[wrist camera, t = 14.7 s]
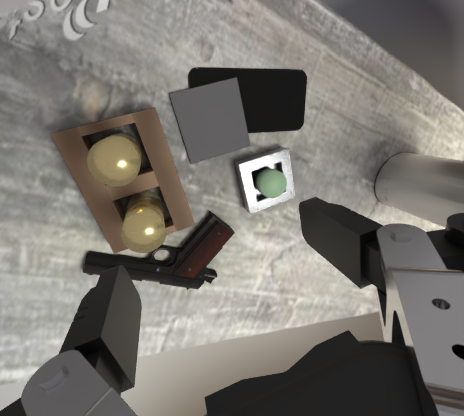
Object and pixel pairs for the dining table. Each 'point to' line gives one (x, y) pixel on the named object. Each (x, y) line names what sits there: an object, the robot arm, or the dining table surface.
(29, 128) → the dining table surface
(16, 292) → the dining table surface
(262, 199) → the button housing
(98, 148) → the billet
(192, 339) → the dining table surface
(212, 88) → the mat
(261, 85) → the smartphone
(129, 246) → the billet seated
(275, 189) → the button
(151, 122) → the brown wooden rectangular frame
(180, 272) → the handgun
